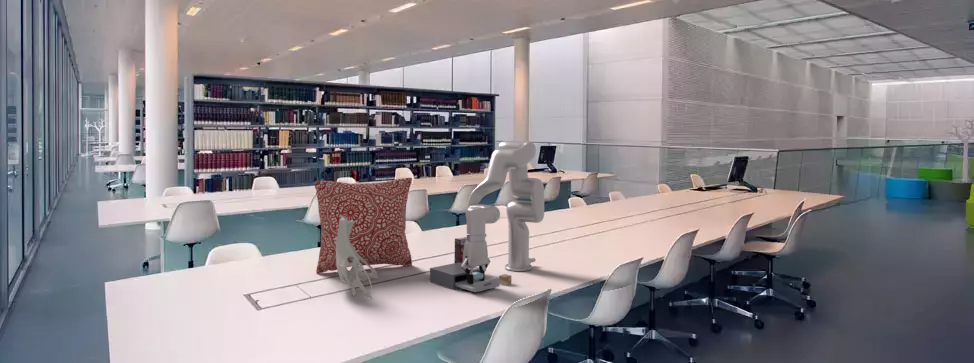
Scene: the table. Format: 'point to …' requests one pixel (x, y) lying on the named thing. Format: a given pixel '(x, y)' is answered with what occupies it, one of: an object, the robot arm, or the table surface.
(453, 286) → the box
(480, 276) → the dome with round knob
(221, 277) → the table surface
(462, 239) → the supplement box
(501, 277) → the tan cube
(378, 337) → the table surface
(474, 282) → the tray
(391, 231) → the pillow
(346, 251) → the sculpture
